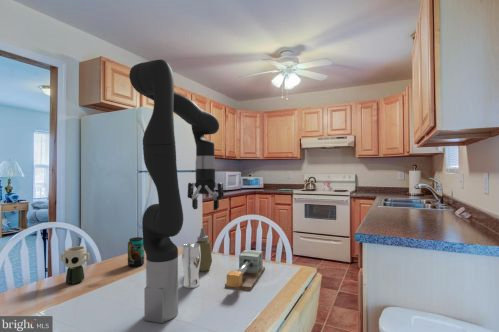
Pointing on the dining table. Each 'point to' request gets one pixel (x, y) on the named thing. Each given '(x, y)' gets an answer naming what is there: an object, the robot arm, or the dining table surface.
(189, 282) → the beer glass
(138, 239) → the beverage can
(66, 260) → the character mug
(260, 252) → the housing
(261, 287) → the dining table surface
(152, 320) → the robot arm
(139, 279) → the dining table surface
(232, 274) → the shaft
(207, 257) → the squeeze bottle
